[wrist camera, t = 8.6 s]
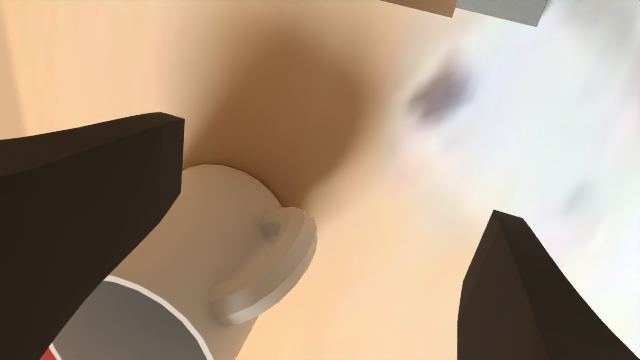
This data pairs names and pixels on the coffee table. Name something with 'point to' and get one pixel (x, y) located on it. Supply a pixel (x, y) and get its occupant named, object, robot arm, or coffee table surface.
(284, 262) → the cup
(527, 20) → the stand
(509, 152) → the coffee table surface
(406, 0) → the case
